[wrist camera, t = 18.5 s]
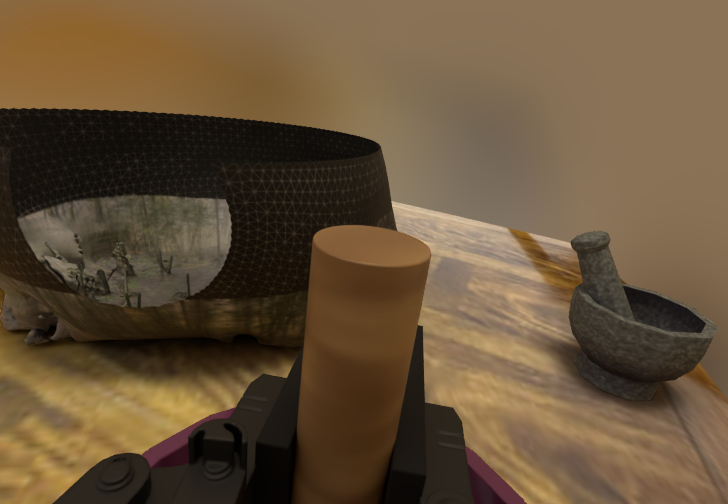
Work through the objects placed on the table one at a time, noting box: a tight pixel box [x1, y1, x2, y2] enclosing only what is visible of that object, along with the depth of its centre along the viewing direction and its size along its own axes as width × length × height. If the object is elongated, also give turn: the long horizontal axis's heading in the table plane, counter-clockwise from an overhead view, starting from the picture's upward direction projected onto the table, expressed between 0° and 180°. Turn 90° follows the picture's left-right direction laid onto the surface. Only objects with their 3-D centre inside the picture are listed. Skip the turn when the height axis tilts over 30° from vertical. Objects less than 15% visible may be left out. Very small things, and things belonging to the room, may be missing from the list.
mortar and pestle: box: [569, 231, 718, 400], centre depth 33 cm, size 11×9×12 cm
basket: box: [0, 108, 397, 347], centre depth 35 cm, size 28×35×16 cm
